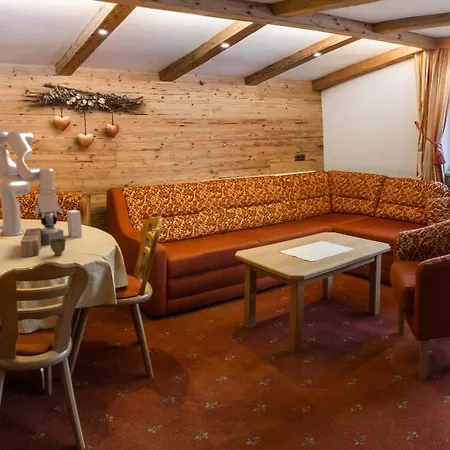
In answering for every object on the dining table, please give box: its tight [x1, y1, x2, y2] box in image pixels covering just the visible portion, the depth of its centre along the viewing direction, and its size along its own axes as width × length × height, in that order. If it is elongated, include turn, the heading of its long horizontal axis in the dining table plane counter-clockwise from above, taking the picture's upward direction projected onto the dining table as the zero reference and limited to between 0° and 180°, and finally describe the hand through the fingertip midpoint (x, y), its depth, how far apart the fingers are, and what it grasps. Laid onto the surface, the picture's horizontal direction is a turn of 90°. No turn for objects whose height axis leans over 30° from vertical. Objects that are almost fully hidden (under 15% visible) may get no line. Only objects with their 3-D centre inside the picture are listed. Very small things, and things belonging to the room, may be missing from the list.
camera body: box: [41, 226, 64, 246], centre depth 276 cm, size 9×12×8 cm
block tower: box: [20, 227, 42, 257], centre depth 259 cm, size 8×8×29 cm
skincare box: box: [66, 209, 83, 239], centre depth 291 cm, size 8×6×15 cm
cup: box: [49, 238, 66, 257], centre depth 249 cm, size 8×7×8 cm
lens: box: [43, 212, 55, 228], centre depth 274 cm, size 6×5×8 cm
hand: (49, 224), depth 275 cm, fingers closed on lens, 5 cm apart
